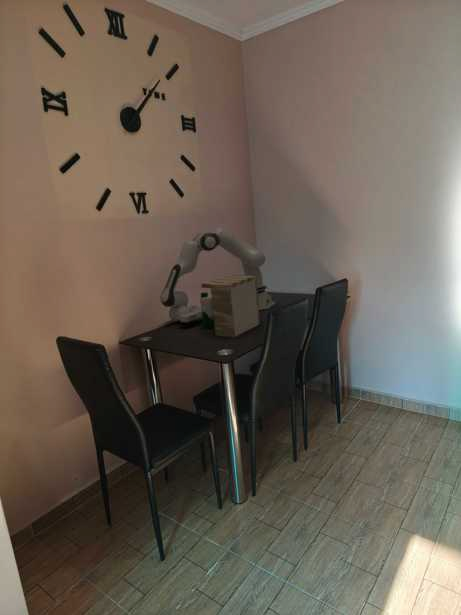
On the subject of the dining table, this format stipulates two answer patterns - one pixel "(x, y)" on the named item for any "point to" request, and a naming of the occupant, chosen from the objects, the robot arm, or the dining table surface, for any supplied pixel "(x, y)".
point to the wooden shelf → (234, 304)
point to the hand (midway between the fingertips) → (204, 315)
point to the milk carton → (207, 310)
